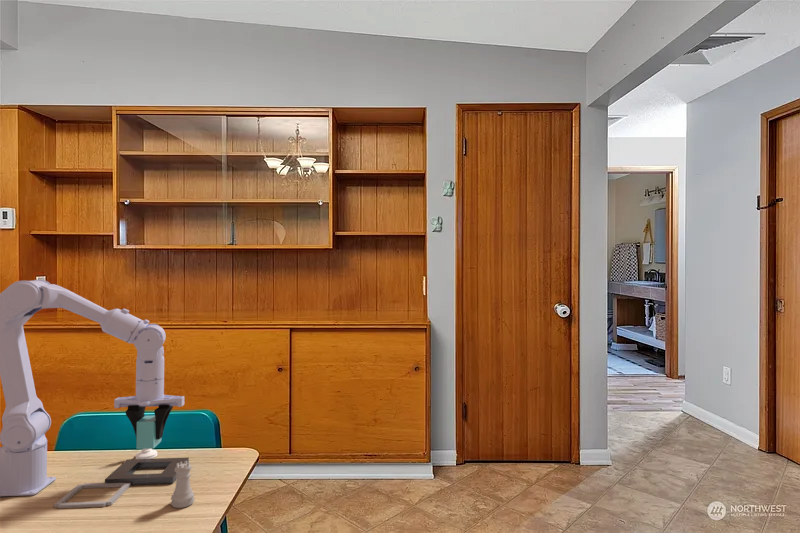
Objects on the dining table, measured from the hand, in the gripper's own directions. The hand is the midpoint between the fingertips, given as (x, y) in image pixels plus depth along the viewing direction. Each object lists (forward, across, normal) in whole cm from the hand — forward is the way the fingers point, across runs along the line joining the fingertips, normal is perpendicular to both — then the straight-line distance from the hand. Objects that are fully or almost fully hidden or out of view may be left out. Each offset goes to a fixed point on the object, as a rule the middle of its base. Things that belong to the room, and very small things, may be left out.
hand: (149, 438), depth 112 cm
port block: (+8, 0, 0) cm, 8 cm away
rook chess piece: (+8, +12, -15) cm, 21 cm away
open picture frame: (+8, -7, -10) cm, 15 cm away
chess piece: (+8, -5, +11) cm, 15 cm away
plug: (+2, 0, 0) cm, 2 cm away
